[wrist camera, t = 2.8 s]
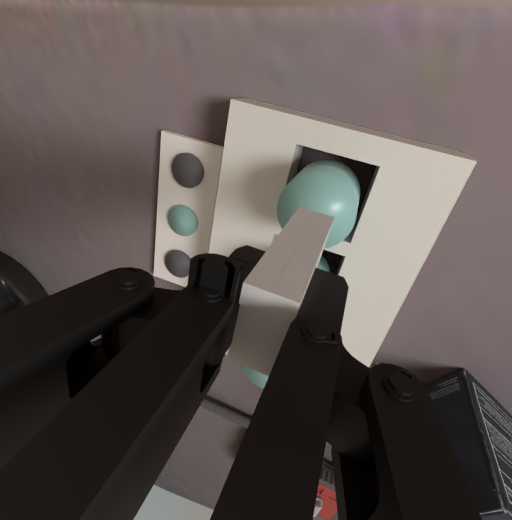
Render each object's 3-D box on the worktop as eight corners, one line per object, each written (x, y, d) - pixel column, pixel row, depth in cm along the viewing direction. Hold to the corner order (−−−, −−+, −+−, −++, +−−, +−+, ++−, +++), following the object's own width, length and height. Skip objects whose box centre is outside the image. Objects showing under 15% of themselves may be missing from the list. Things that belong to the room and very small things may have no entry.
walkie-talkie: (380, 466, 34) (204, 383, 37) (380, 512, 30) (185, 416, 34) (348, 505, 39) (193, 429, 42) (344, 550, 35) (174, 462, 38)
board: (209, 322, 32) (195, 342, 30) (247, 98, 23) (230, 98, 20) (352, 378, 30) (349, 404, 27) (464, 152, 20) (476, 161, 18)
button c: (286, 214, 23) (269, 235, 19) (302, 151, 21) (287, 163, 17) (347, 233, 22) (341, 259, 18) (370, 169, 20) (368, 185, 16)
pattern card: (157, 272, 32) (151, 276, 31) (165, 130, 25) (159, 131, 25) (204, 290, 31) (200, 295, 30) (226, 147, 25) (221, 148, 24)
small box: (393, 395, 29) (399, 528, 21) (464, 364, 26) (508, 506, 17) (473, 473, 30) (512, 631, 21) (551, 452, 27) (636, 631, 18)
